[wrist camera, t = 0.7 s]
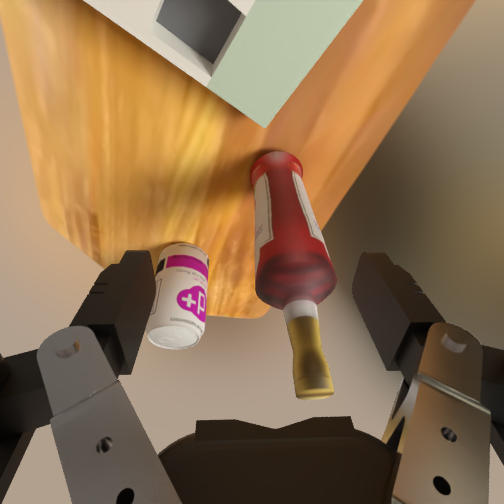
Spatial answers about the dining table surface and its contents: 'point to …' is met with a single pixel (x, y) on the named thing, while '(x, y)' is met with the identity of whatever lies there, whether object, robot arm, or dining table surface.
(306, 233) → the liquor
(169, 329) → the supplement can
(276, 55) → the trap plank
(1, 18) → the dining table surface
